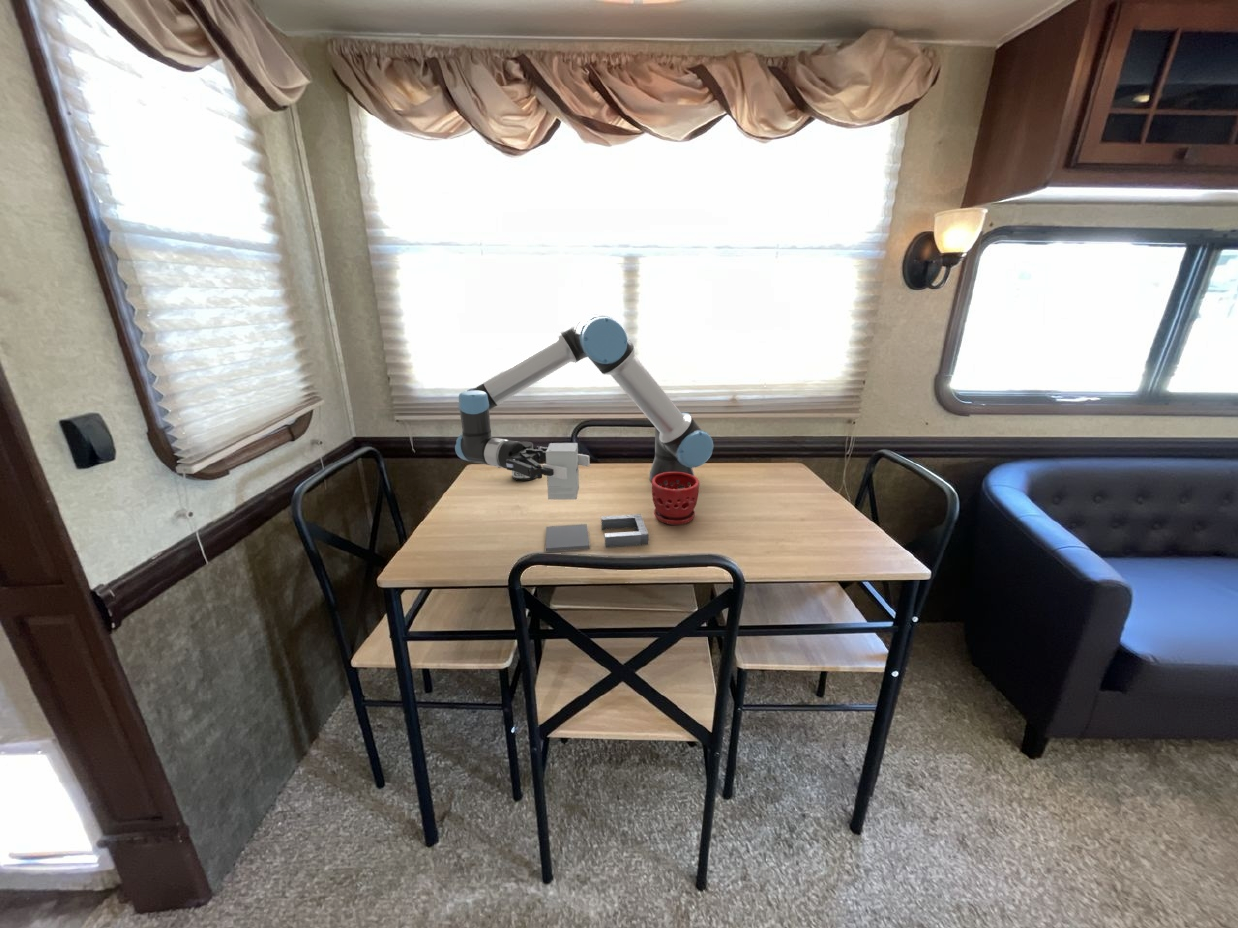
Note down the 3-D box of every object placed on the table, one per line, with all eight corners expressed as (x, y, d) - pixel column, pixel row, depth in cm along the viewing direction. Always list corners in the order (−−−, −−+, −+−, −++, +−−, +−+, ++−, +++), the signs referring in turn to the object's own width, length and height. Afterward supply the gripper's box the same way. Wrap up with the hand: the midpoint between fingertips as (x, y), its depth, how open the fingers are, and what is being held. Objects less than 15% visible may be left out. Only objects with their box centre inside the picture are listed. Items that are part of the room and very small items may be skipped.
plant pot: (643, 513, 143) (643, 475, 139) (682, 505, 148) (684, 468, 144) (664, 532, 132) (665, 491, 128) (706, 523, 137) (708, 483, 133)
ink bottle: (506, 478, 171) (503, 445, 167) (522, 470, 178) (519, 439, 174) (528, 483, 167) (526, 449, 163) (544, 475, 174) (542, 442, 170)
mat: (586, 527, 135) (586, 524, 135) (589, 548, 124) (589, 545, 124) (546, 529, 134) (546, 526, 134) (545, 551, 123) (545, 548, 123)
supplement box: (577, 500, 121) (575, 451, 117) (547, 500, 121) (544, 451, 117) (580, 488, 128) (578, 442, 124) (551, 488, 128) (549, 442, 124)
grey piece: (640, 523, 137) (640, 514, 136) (648, 544, 126) (648, 534, 125) (601, 526, 136) (601, 516, 135) (605, 547, 125) (605, 537, 124)
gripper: (533, 455, 141) (600, 467, 131) (478, 481, 122) (552, 497, 112) (531, 430, 138) (600, 440, 128) (475, 452, 120) (550, 466, 110)
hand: (577, 467), depth 120 cm, fingers closed on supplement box, 9 cm apart
